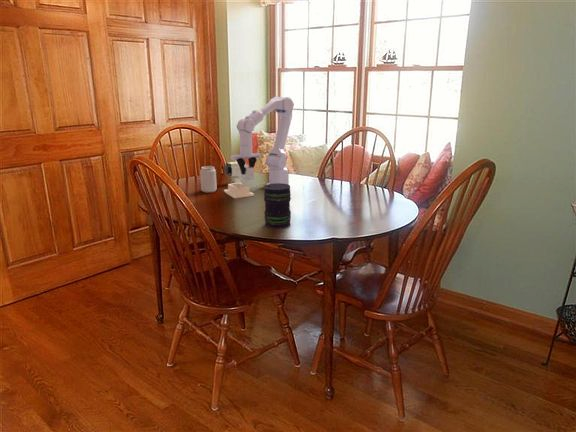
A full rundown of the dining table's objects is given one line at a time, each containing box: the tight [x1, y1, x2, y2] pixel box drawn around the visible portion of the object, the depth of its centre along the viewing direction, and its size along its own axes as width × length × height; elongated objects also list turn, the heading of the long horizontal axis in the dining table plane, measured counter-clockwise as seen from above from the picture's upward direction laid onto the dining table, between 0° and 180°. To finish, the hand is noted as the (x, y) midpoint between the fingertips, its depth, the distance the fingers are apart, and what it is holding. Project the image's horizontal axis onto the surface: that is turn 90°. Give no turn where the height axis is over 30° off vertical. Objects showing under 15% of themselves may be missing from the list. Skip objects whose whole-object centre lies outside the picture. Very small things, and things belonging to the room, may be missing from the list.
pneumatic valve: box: [223, 160, 248, 184], centre depth 245 cm, size 6×12×12 cm, turn 126°
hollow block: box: [223, 182, 255, 199], centre depth 225 cm, size 10×14×4 cm
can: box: [199, 165, 218, 194], centre depth 229 cm, size 8×8×12 cm
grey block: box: [240, 164, 255, 182], centre depth 225 cm, size 4×8×6 cm, turn 26°
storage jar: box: [263, 183, 292, 230], centre depth 177 cm, size 10×10×15 cm
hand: (246, 173), depth 225 cm, fingers closed on grey block, 3 cm apart
